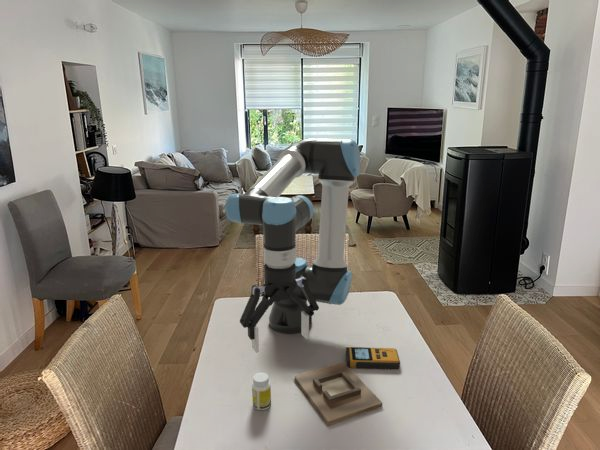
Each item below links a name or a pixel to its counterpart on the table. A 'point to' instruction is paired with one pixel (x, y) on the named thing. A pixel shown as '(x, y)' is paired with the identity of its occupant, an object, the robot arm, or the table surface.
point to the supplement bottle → (261, 391)
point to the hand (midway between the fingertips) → (280, 342)
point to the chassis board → (337, 393)
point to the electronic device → (372, 358)
